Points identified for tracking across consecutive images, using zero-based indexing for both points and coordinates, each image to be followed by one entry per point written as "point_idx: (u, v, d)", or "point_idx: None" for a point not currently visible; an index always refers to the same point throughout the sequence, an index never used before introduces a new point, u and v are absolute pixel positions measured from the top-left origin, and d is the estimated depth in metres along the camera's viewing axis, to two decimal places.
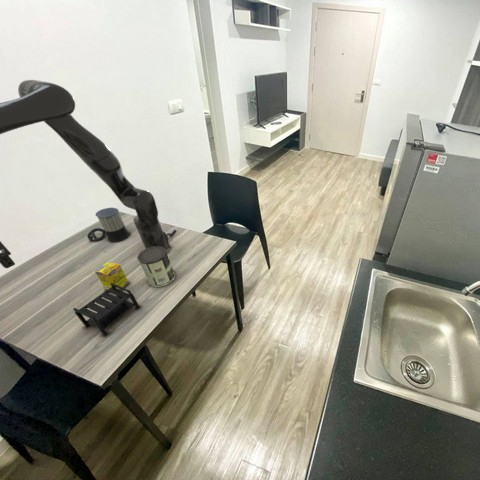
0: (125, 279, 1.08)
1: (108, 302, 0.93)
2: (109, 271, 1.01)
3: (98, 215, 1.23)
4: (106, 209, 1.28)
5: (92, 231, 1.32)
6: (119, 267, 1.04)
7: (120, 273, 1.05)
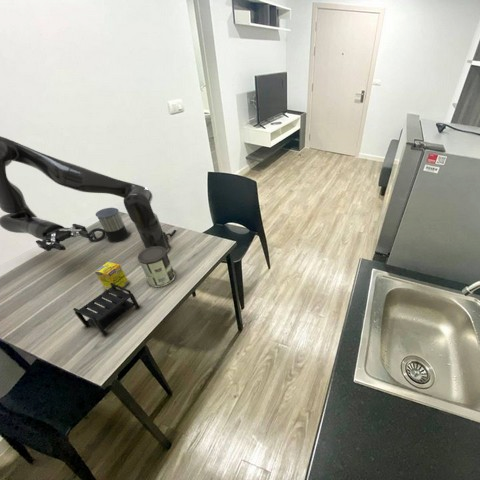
0: (125, 279, 1.08)
1: (108, 302, 0.93)
2: (109, 271, 1.01)
3: (98, 215, 1.23)
4: (106, 209, 1.28)
5: (92, 231, 1.32)
6: (119, 267, 1.04)
7: (120, 273, 1.05)
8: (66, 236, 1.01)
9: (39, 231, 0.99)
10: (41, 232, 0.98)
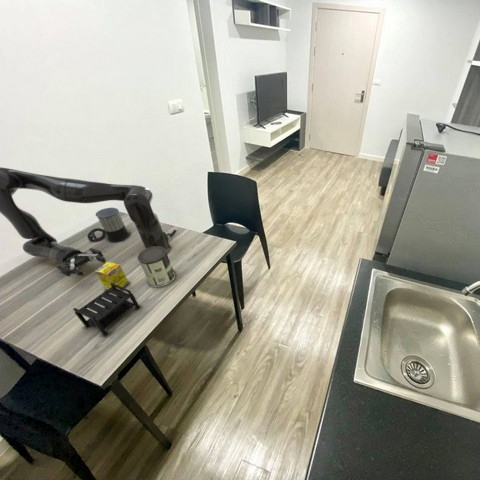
0: (125, 279, 1.08)
1: (108, 302, 0.93)
2: (109, 271, 1.01)
3: (98, 215, 1.23)
4: (106, 209, 1.28)
5: (92, 231, 1.32)
6: (119, 267, 1.04)
7: (120, 273, 1.05)
8: (84, 261, 1.08)
9: (59, 257, 1.06)
10: (61, 258, 1.06)
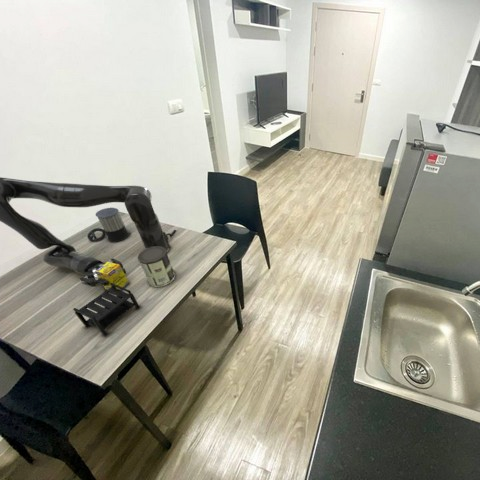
0: (125, 279, 1.08)
1: (108, 302, 0.93)
2: (109, 271, 1.01)
3: (98, 215, 1.23)
4: (106, 209, 1.28)
5: (92, 231, 1.32)
6: (119, 267, 1.04)
7: (120, 273, 1.05)
8: None
9: (81, 267, 1.04)
10: (83, 268, 1.04)
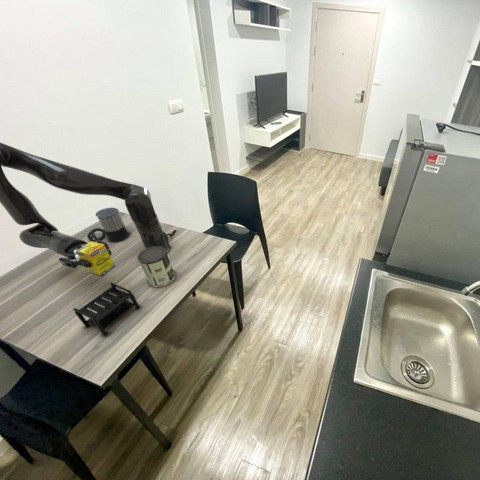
0: (111, 261, 0.97)
1: (108, 302, 0.93)
2: (92, 251, 0.90)
3: (98, 215, 1.23)
4: (106, 209, 1.28)
5: (92, 231, 1.32)
6: (103, 247, 0.93)
7: (105, 254, 0.95)
8: None
9: (61, 247, 0.94)
10: (63, 248, 0.93)
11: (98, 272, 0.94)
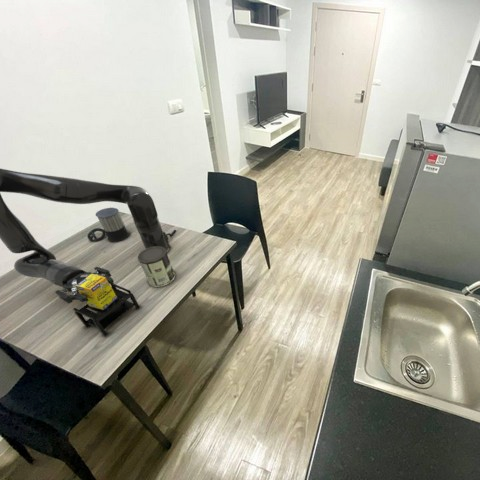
0: (112, 294, 0.92)
1: None
2: (92, 285, 0.84)
3: (98, 215, 1.23)
4: (106, 209, 1.28)
5: (92, 231, 1.32)
6: (105, 280, 0.88)
7: (107, 287, 0.89)
8: None
9: (59, 279, 0.87)
10: (61, 280, 0.87)
11: (99, 306, 0.89)
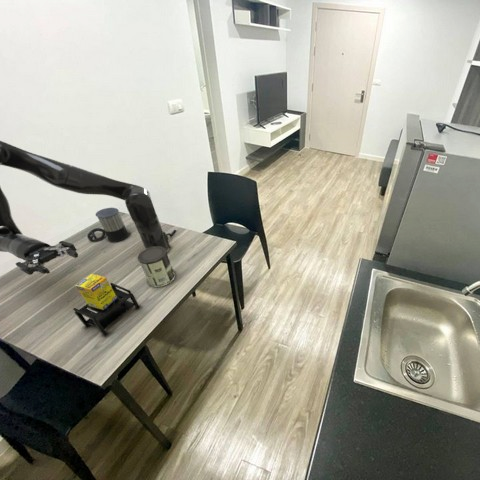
0: (112, 294, 0.92)
1: None
2: (92, 285, 0.84)
3: (98, 215, 1.23)
4: (106, 209, 1.28)
5: (92, 231, 1.32)
6: (105, 280, 0.88)
7: (107, 287, 0.89)
8: (51, 256, 0.88)
9: (20, 251, 0.86)
10: (23, 252, 0.86)
11: (99, 306, 0.89)
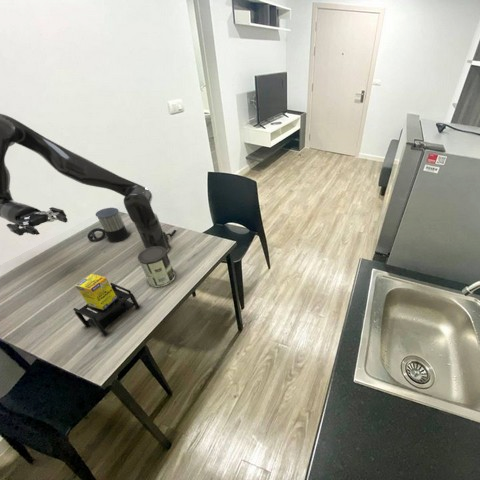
0: (112, 294, 0.92)
1: None
2: (92, 285, 0.84)
3: (98, 215, 1.23)
4: (106, 209, 1.28)
5: (92, 231, 1.32)
6: (105, 280, 0.88)
7: (107, 287, 0.89)
8: (41, 220, 0.92)
9: (11, 214, 0.90)
10: (13, 215, 0.90)
11: (99, 306, 0.89)
